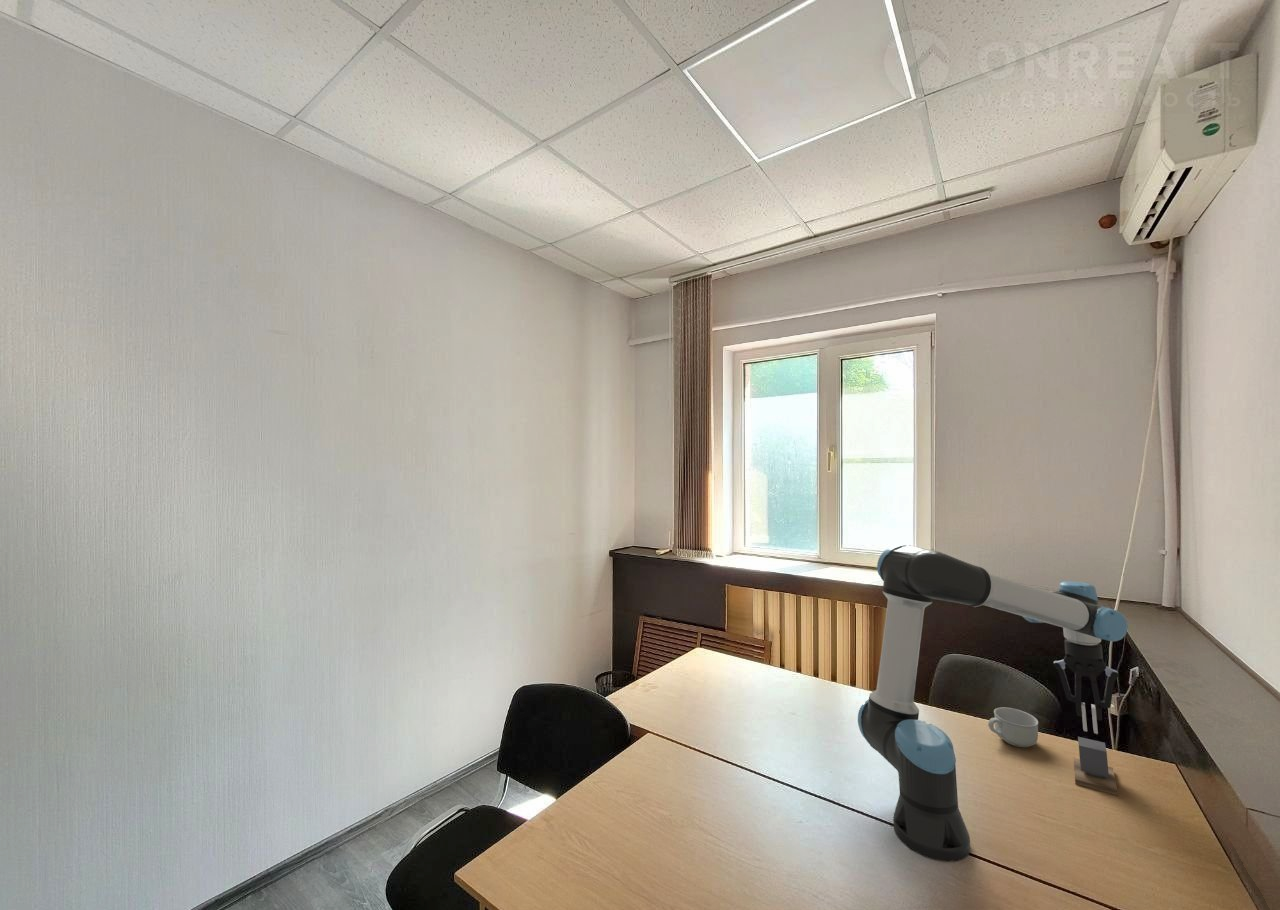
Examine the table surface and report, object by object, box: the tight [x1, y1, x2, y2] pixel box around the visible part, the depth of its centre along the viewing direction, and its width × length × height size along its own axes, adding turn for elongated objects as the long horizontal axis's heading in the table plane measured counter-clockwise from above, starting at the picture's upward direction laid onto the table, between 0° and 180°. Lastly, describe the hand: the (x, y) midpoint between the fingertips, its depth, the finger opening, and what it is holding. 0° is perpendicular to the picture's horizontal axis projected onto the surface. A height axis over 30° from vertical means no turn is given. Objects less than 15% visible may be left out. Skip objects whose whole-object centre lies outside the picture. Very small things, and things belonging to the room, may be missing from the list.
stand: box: [1072, 757, 1119, 796], centre depth 130 cm, size 12×8×8 cm, turn 140°
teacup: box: [987, 706, 1039, 748], centre depth 148 cm, size 14×11×8 cm
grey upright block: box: [1077, 736, 1109, 778], centre depth 130 cm, size 5×5×7 cm
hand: (1090, 730), depth 130 cm, fingers closed
